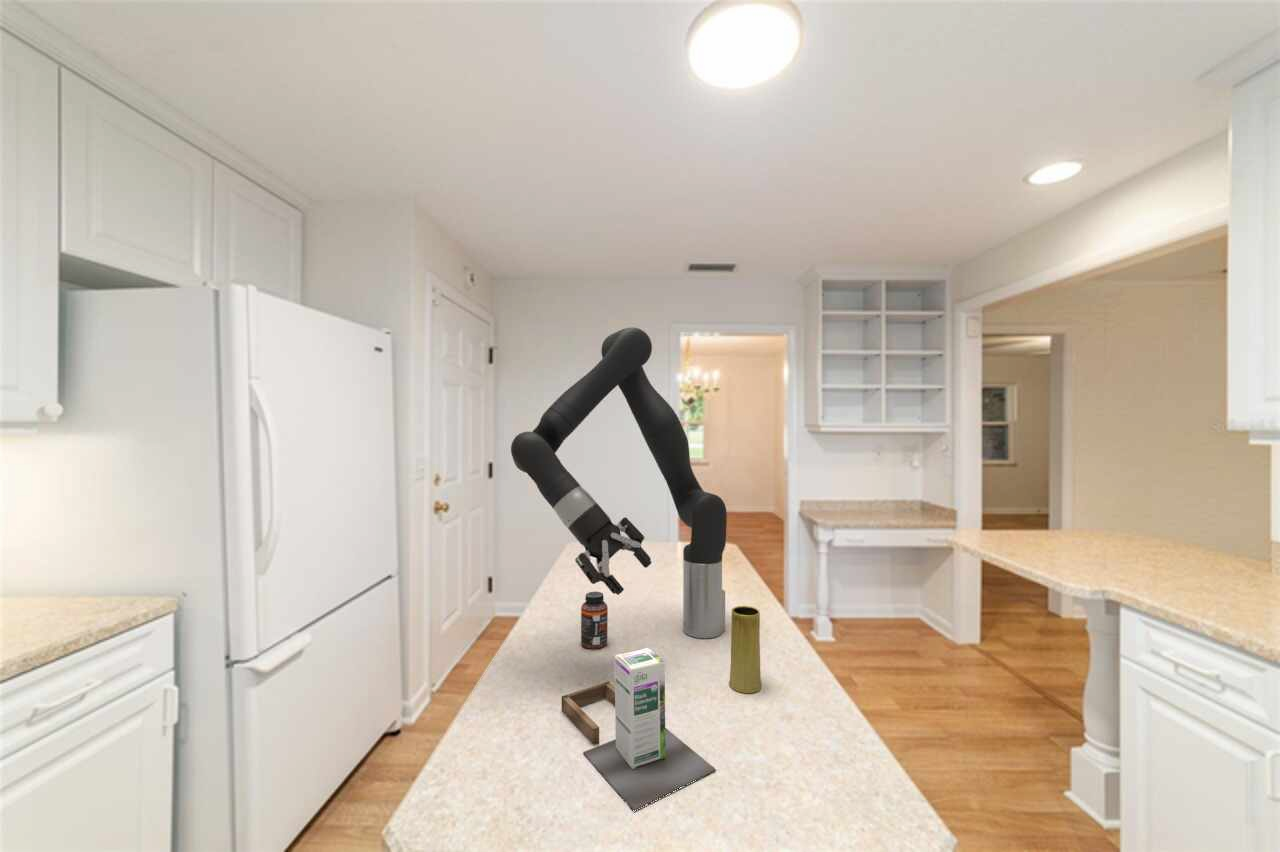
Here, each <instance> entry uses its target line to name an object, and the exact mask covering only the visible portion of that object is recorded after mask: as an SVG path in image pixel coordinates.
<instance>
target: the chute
mask: <svg viewBox="0 0 1280 852" xmlns="http://www.w3.org/2000/svg"><path fill="white" fill-rule="evenodd" d="M603 700H607V701H608V702H609V703H610V704H611V705H613V706H614V707H615V684H613V683H611V682H610V681H605V682H603V683H599V684H596V685H593V686H589V687H587V688H584V689H580V690H578V691H574V692H572V693H568V694H565V695H562V696H561V712H562V714H564V716H566V717H567V718H568V719H569V721H570V722H571V723H572V724H573V725H574V726H575V727H576V728H577V729H578V730H579V732H580V733H582V734H583V736H584V737H585V738H586V739H587V740H588V741H589V742H590V743H591V744H592V745H593V746H594V747H592V748H590V749H588V750H585V751H583V755H584V757H585V758H586V759H587V760H588V762H590V763H591V765H592V766H593V767H594V768H595V770H597V772H598V773H599V774H600V775H601V776H602V777H603V779H604V780H605V781H606V782H607V783H608V784H609V785H610V786H611V788H612V787H613V788H612V789H613V790H614V792H616V794H617V795H620V796H621V797H622V798H623V799H624V800H623V799H622V798H621V797H620V796H619V797H620V798H621V799H622V800H623V801H624V803H626V802H627V804H628V805H629V806H630V807H631V808H632V809H633V810H634V811H635V810H637V809H639V808H641V807H643V806H645V805H646V804H649V803H651V802H653V801H655V800H657V799H659V798H662V797H663V796H666V795H667V794H669V793H672V792H673V791H675V790H677V789H679V788H680V787H683V786H686V785H687V784H689V783H691V782H693V781H695V780H698V779H700V778H702V777H704V776H706V777H708V776H709V775H708V774H710V773H712V772H714V771H716V772H717V769H716V768H715V767H714V766H713V765H712V764H710V763H709V762H708V761H707V760H705V759H704V758H703V757H701V756H700V755H699V754H698V753H697V752H695V750H694V749H692V748H691V747H690V746H689V745H687V744H686V743H685V742H683V741H682V740H681V739H680V738H679V737H677V736H676V735H675V734H674V733H673V732H671V730H669V729H668V728H666V727H665V744H666V756H665V757H664V758H662V759H658V760H655V761H652V762H649V763H646V764H643V765H640V766H637V767H636V768H634V769H632V768H631V767H630V766H629V764H628V763H627V762H626V761H625V759H624V758H623V757H622V756H621V754H620V753H619V751H618V750H617V748H616V738H614V739H612V740H611V741H608V742H605V743H603V744H600V727H599V725H598V724H597V723H596V722H595V721H594V720H593V719H591V717H590V716H589V715H587V713H586V712H585V711H584V710H583V709H582V708H583V707H585V706H587V705H592V704H594V703H598V702H600V701H603ZM598 744H600V745H598ZM595 745H597V746H595ZM714 773H715V772H714ZM712 774H713V773H712ZM707 775H708V776H707ZM710 775H711V774H710ZM704 778H705V777H704ZM702 779H703V778H702ZM700 780H701V779H700ZM698 781H699V780H698ZM686 787H687V786H686ZM672 794H673V793H672ZM666 797H667V796H666ZM662 799H663V798H662ZM627 804H626V805H627ZM628 805H627V806H628ZM629 806H628V807H629ZM630 807H629V808H630ZM631 808H630V809H631ZM632 809H631V810H632ZM633 810H632V811H633Z"/></svg>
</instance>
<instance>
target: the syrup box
mask: <svg viewBox="0 0 1280 852" xmlns="http://www.w3.org/2000/svg"><path fill="white" fill-rule="evenodd" d="M665 664H666V663H665V660H663V658H662V657H661V656H660V655H658V653H655V652H654V651H653V650H651V649H650V648H648V647H644V648H643V649H638V650H635V651H630V652H625V653H619V654H615V655H614V686H615V706H614V709H615V712H614V713H615V716H614V717H615V722H614V723H615V739H616V748H617V750H618V751H619V753H620V754H621V756H622V757H623V758H624V759H625V761H626V762H627V763H628V764H629V766H630V767H631V768H632V769H634V768H636V767H637V766H640V765H643V764H646V763H649V762H652V761H655V760H658V759H662V758H664V757H665V756H666V744H665V728H666V683H665V682H666V673H665V671H666V670H665V669H666V668H665V667H666V665H665Z"/></svg>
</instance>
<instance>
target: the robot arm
mask: <svg viewBox="0 0 1280 852" xmlns="http://www.w3.org/2000/svg"><path fill="white" fill-rule="evenodd" d="M651 340H652V339H650V336H649V335H648V334H647V333H646V331H644V330H643V329H641V328H639V327H625V328H622V329H620V330H617V331H616V332H614V333H611V334H610V335H608V336H607V337H605V339H604V340H603V342H602V344H601V357H602V359H601V360H600V361H599V362H598V363H597V364H596V365H595V366H594V367H592V369H590V371H589V372H587V374H585V375H584V376H582V377H581V378H580V379H579V380H577V381H576V382H575V383H574V384H573V385H571V386H570V387H568V389H567V390H565V391H564V392H563V393H562V394H561V395H560V396H559V397H558V398H557V399H556V400H555V401H553V403H552V404H551V405H550V406H549V407H548V408H547V409H546V410H545V412H544V413H543V414H542V416H541V418H540V420H539V423H538V425H537V426H536V427H535V428H534V429H533V430H532V431H523V432H521V433H519V434H517V435H516V436H515V437H514V438H513V439H512V442H511V446H510V454H511V457H512V459H513V462H514V465H515V466H516V468H517V469H518V470H520V471H521V472H523V473H526V474H527V475H528V477H530V479H531V480H532V481H533V482H534V484H535V485H536V486H537V489H538V491H539V492H540V494H541V495H542V497H543V498H544V499H545V501H546V502H547V503H548V504H549V505H550V506H551V508H552V509H553V511H554V512H555V513H556V515H557V516H558V518H559V520H560V521H561V522H562V523H563V525H564V526H565V527H566V528H567V530H569V532H570V533H571V534H572V535H573V537H575V539H576V541H578V543H579V544H580V545H582V547H584V548H585V551H584V552H581V553H579V554H578V556H577V557H576V558H575V559H574V561H575V563H576V564H577V565H578V567H579V568H580V569H581V571H582V573H583V574H584V575H585V576H586V578H587V579H588V581H589V582H590V583H591V585H595V584H596V583H598V582H599V583H600V582H603V584H605V585H606V587H607V588H608V589H609V591H610V592H611V594H613V595H615V594H616V595H620V594H621V593H622V592H623V591H624V590H625V588H624V587H623V586H622V584H621V583H620V582H619V581H618V580H617V579H616V578H615V576H614V575H613V574H611V573H610V559H612V558H613V556H615V554H617V553H618V552H619V551H620V550H621V551H625V550H626V551H629V552H632V553H633V554H632V555H633V556H634V557H635V558H636V559H637V561H638V562H639V563H640V564H641V566H643V568H645V569H647V568H648V567H649V566H651V565H652V558H651V557H650V555H649V554H648V553H647V552H646V550H644V548H643V547H642V543H643V541H644V540H645V536H644V535H643V533H642V532H641V531H640V530H639V529H638V528H637V527H636V526H635V525H634V524H633V523H632V521H631V520H629V519H628V517H623V518H622V519H621V520H619V522H618V523H617V524H614V523H613V522H612V521H611V518H610V517H609V515H608V514H607V513H606V512H605V510H604V509H603V508H602V507H601V506H600V505H599V503H598V502H597V501H596V500H595V499H594V498H593V496H591V494H590V492H588V491H587V490H586V489H584V487H582V486H581V484H580V483H579V482H578V481H577V479H576V478H575V477H574V476H573V475H572V474H571V473H570V472H569V471H568V470H567V468H565V466H564V465H563V464H562V462H561V460H560V459H559V457H558V455H557V454H556V452H558V451H559V448H560V447H561V446H562V444H563V443H564V441H565V440H566V439H567V438H568V437H569V436H570V435H571V434H572V433H573V432H575V430H576V429H577V428H578V427H579V426H580V425H581V424H582V423H583V422H584V421H585V419H586V418H587V417H588V416H589V415H590V414H591V413H592V411H593V410H595V408H596V407H597V406H598V405H599V404H600V403H601V402H602V401H603V400H604V399H605V398H606V397H607V396H608V395H609V394H610V393H611V392H612V391H613V390H614V389H615V388H616V387H617V386H618V388H619V389H620V392H621V393H622V394H623V397H624V398H625V401H626V402H627V405H628V407H629V409H630V411H631V414H632V415H633V417H634V419H635V422H636V423H637V425H638V428H639V430H640V432H641V435H642V436H643V439H644V441H645V443H646V445H647V447H648V449H649V451H650V452H651V455H652V457H653V459H654V460H655V462H656V464H657V467H658V468H659V471H660V472H661V474H662V476H663V478H664V481H665V482H666V484H667V486H668V490H669V493H670V495H671V498H672V500H673V503H674V506H675V510H676V511H677V513H678V517H679V518H680V520H681V521H682V522H683V523H684V525H686V526H687V527H689V528H690V529H691V537H690V542H689V544H688V543H687V544H686V545H684V547H683V550H682V551H683V552H682V554H683V557H682V559H683V561H682V562H683V563H682V564H683V565H682V567H683V568H682V569H683V573H682V575H683V576H682V577H683V579H682V581H683V584H682V585H683V586H682V588H683V590H682V591H683V595H682V597H683V598H682V599H683V601H682V602H683V604H682V605H683V606H682V607H683V609H682V610H683V611H682V612H683V613H682V614H683V617H682V618H683V620H682V623H683V626H682V629H683V633H684V634H686V635H688V636H690V637H691V638H698V639H712V638H716V637H719V636H720V635H721V634H722V633H723V632H725V631H726V590H724V589H723V554H724V551H725V548H726V543H727V525H728V516H727V515H728V513H727V507H726V504H725V501H724V500H723V499H722V498H721V497H720V496H719V495H717V494H714V493H711V492H706V491H704V489H703V488H702V487H701V485H700V483H699V482H698V479H697V477H696V476H695V473H694V471H693V469H692V465H691V458H690V457H691V456H690V446H689V440H688V437H687V434H686V432H685V429H684V427H683V425H682V422H681V420H680V418H679V417H678V415H677V412H675V410H674V409H673V408H672V406H671V405H670V404H669V403H668V402H667V400H666V399H665V398H664V397H663V396H662V395H661V394H660V393H659V392H658V391H657V390H656V389H655V387H654V386H653V385H652V383H651V382H650V380H649V378H648V376H647V374H646V372H645V370H644V368H643V366H644V365H645V364H646V363H647V362H648V361H649V359H650V357H651V355H652V351H653V350H652V349H653V344H652V341H651ZM621 532H622V533H624V534H625V535H626V536H624V535H622V534H621ZM591 557H592V558H595V562H596V567H595V566H594V564H593V563H592V562H591V560H592V559H591Z"/></svg>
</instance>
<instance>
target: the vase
mask: <svg viewBox="0 0 1280 852" xmlns="http://www.w3.org/2000/svg"><path fill="white" fill-rule="evenodd" d="M760 613H761V612H760V610H759V609H758V608H756V607H753V606H749V605H739V606H738V605H737V606H735V607H732V609H731V628H730V629H731V630H730V631H731V633H730V635H731V636H730V638H731V639H730V669H729V670H730V672H729V674H730V675H729V681H728V684H729V686H730V688H731V689H732V690H734V691H736V692H739V693H741V694H742V693H743V694H754V693H758V692H759V691H760V690H761V689H762V687H763V685H762V677H761V643H760V637H761V636H760V635H761V634H760V632H761V631H760V630H761V629H760V625H761V623H760V620H761V619H760V618H761V614H760Z"/></svg>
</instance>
